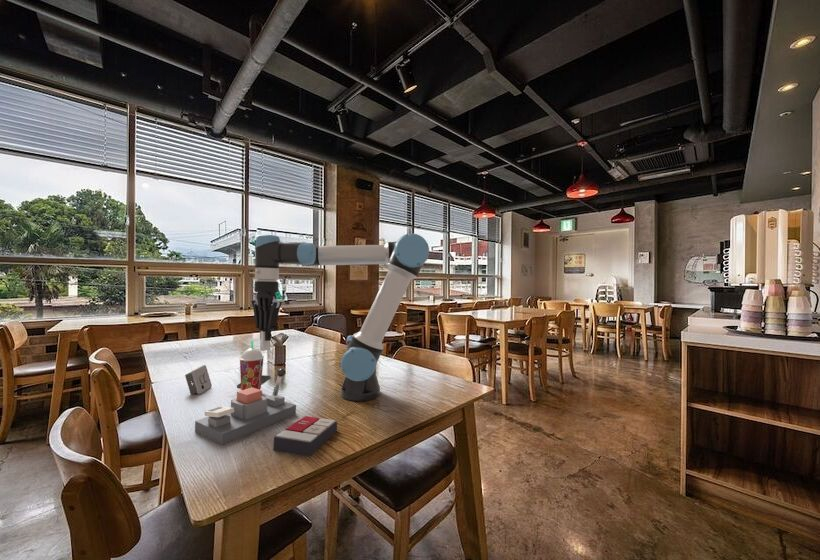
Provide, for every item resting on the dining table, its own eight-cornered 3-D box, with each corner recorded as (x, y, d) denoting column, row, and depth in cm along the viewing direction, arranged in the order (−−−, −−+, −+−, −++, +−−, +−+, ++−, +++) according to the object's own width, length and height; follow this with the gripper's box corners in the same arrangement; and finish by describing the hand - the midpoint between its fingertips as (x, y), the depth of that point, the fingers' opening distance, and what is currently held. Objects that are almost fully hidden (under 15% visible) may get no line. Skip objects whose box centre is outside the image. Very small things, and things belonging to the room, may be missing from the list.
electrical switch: (200, 395, 122) (198, 370, 122) (185, 396, 121) (183, 372, 121) (212, 387, 131) (210, 364, 131) (198, 388, 130) (196, 365, 130)
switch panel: (268, 404, 114) (269, 384, 114) (295, 414, 107) (296, 392, 107) (194, 431, 93) (195, 407, 93) (222, 445, 86) (223, 418, 86)
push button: (251, 399, 104) (252, 387, 104) (261, 403, 101) (261, 390, 101) (236, 404, 99) (236, 391, 99) (246, 408, 97) (246, 395, 97)
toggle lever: (275, 392, 110) (283, 366, 108) (280, 396, 108) (288, 370, 107) (268, 394, 107) (276, 368, 106) (273, 399, 106) (281, 372, 104)
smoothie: (267, 389, 129) (268, 339, 129) (255, 397, 121) (256, 343, 121) (247, 388, 130) (248, 338, 130) (233, 396, 122) (235, 342, 122)
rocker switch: (220, 410, 96) (220, 406, 96) (234, 411, 93) (233, 407, 93) (204, 415, 92) (204, 411, 92) (218, 417, 89) (218, 412, 89)
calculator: (338, 419, 97) (311, 440, 82) (337, 433, 96) (310, 457, 82) (304, 414, 99) (273, 434, 85) (304, 428, 99) (272, 451, 84)
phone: (235, 386, 131) (254, 375, 146) (235, 388, 131) (254, 377, 146) (255, 386, 130) (271, 375, 146) (255, 389, 130) (271, 378, 146)
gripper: (244, 280, 111) (243, 349, 111) (269, 281, 104) (267, 354, 104) (264, 280, 117) (262, 345, 117) (288, 281, 111) (287, 350, 111)
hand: (265, 349), depth 111 cm, fingers closed
